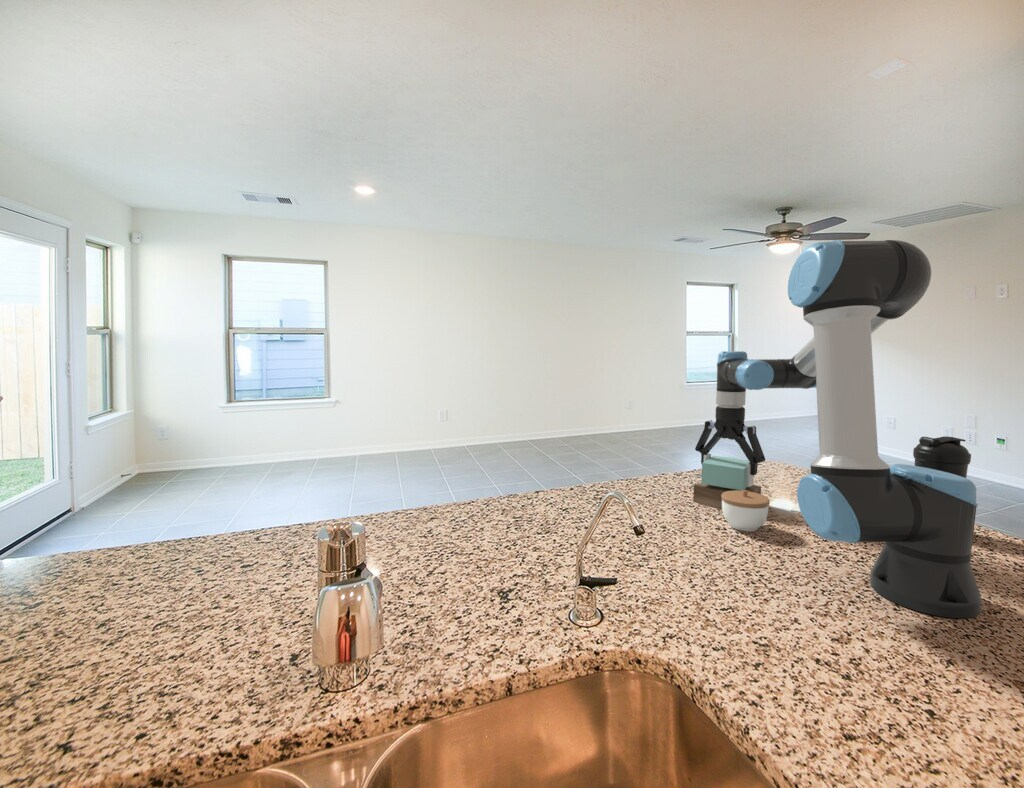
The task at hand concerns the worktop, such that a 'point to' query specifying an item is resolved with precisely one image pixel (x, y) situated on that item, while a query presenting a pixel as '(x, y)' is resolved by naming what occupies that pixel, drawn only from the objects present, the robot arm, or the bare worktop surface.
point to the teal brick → (725, 472)
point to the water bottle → (942, 455)
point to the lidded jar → (744, 509)
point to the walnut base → (715, 494)
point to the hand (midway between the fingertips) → (727, 480)
